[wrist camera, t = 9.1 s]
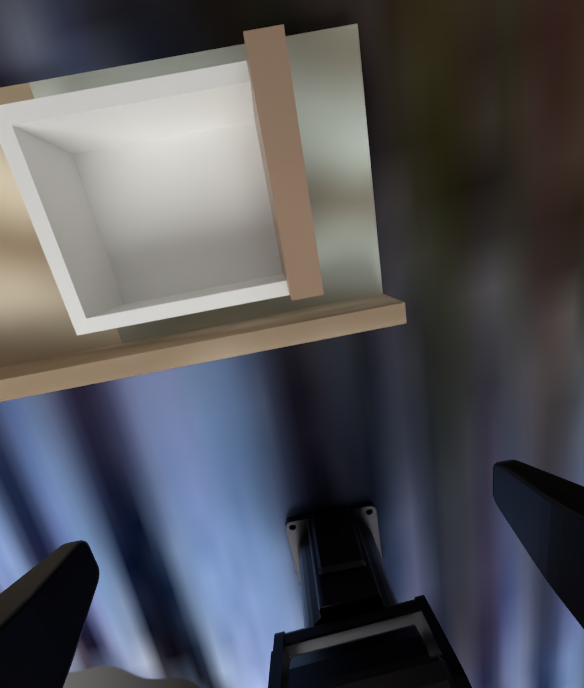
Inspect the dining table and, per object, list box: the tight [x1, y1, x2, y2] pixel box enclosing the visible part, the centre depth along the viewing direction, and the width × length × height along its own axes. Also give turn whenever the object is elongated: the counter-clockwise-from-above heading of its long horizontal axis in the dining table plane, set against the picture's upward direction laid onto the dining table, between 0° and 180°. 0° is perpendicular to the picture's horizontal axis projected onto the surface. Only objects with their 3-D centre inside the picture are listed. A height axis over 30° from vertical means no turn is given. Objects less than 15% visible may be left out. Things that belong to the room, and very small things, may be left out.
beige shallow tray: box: [0, 24, 406, 402], centre depth 15 cm, size 13×27×4 cm, turn 100°
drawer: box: [0, 24, 324, 335], centre depth 13 cm, size 8×10×6 cm
